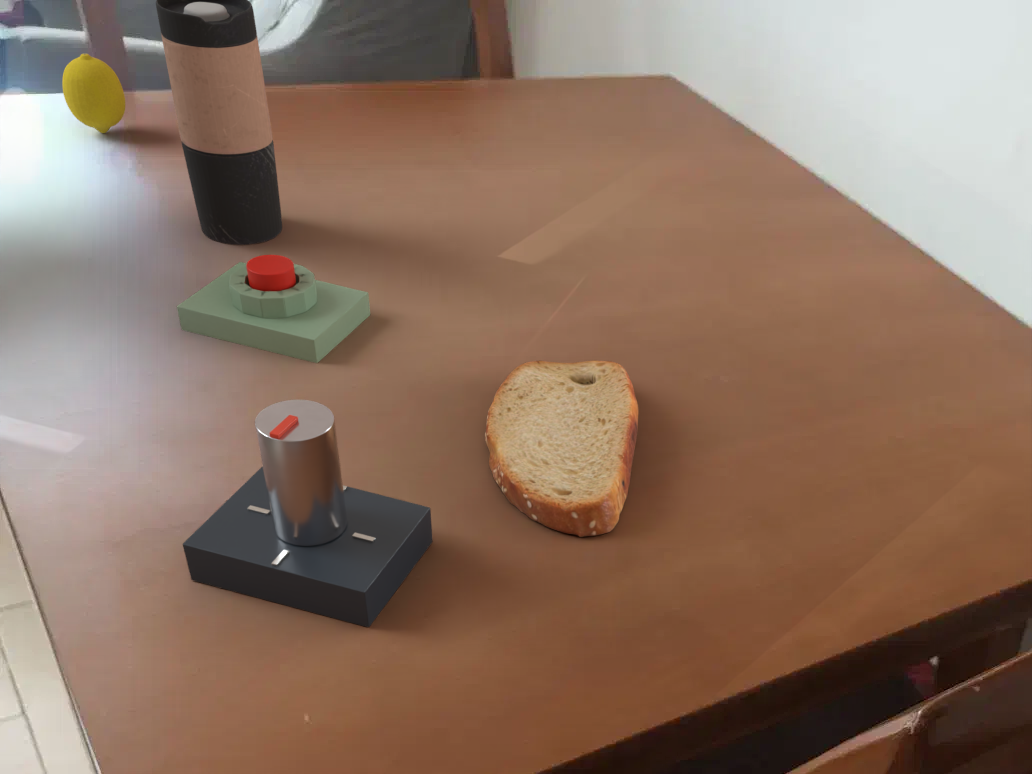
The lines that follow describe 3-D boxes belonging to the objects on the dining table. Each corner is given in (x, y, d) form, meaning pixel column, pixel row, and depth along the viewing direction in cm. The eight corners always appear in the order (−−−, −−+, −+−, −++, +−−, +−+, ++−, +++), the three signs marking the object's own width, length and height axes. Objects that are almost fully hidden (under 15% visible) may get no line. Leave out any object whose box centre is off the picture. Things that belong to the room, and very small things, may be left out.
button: (240, 288, 91) (236, 268, 90) (264, 270, 94) (261, 250, 93) (281, 297, 91) (278, 278, 90) (304, 279, 94) (302, 260, 93)
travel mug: (225, 205, 110) (186, -17, 97) (300, 220, 109) (270, 0, 96) (181, 236, 104) (134, 5, 91) (260, 252, 103) (223, 22, 91)
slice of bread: (580, 552, 77) (582, 510, 75) (405, 441, 84) (402, 399, 82) (736, 451, 89) (742, 411, 87) (572, 361, 96) (573, 322, 94)
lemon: (61, 133, 117) (40, 53, 112) (104, 119, 121) (86, 41, 116) (102, 147, 116) (83, 67, 111) (144, 132, 120) (127, 54, 115)
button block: (181, 330, 92) (171, 285, 89) (243, 284, 99) (236, 241, 96) (317, 363, 91) (311, 319, 88) (370, 315, 98) (366, 272, 95)
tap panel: (191, 580, 70) (181, 541, 68) (270, 499, 77) (263, 462, 75) (369, 628, 69) (364, 590, 67) (433, 541, 76) (430, 505, 74)
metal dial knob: (298, 496, 73) (281, 388, 68) (360, 513, 73) (347, 405, 68) (259, 535, 70) (238, 425, 65) (324, 553, 69) (308, 443, 64)
